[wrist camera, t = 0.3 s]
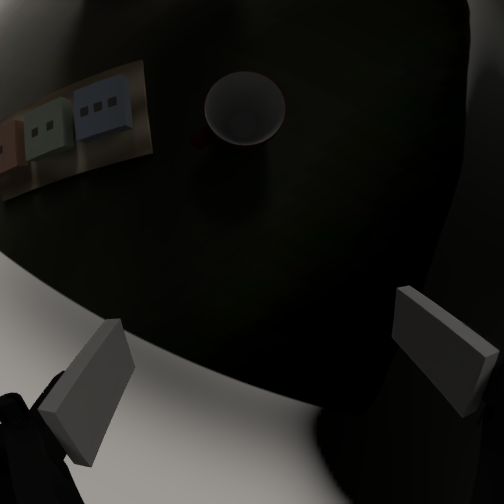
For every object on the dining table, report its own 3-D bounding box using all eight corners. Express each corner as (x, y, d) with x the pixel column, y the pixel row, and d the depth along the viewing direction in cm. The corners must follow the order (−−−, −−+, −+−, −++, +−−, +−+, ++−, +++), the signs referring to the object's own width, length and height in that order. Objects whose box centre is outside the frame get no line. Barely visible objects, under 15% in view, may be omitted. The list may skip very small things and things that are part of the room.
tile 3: (82, 95, 31) (73, 91, 28) (128, 80, 31) (121, 73, 28) (86, 142, 33) (76, 140, 30) (133, 128, 33) (125, 125, 30)
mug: (219, 179, 37) (214, 178, 28) (183, 131, 36) (166, 115, 26) (286, 132, 36) (302, 117, 27) (249, 85, 35) (254, 56, 25)
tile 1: (-4, 137, 31) (-14, 136, 28) (25, 121, 31) (14, 119, 28) (-1, 178, 32) (-12, 179, 30) (27, 165, 32) (16, 165, 30)
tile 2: (34, 117, 31) (23, 114, 28) (71, 100, 31) (61, 96, 28) (37, 161, 32) (25, 161, 30) (74, 147, 33) (63, 145, 30)
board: (0, 122, 32) (-9, 121, 30) (143, 61, 33) (137, 54, 30) (6, 200, 36) (-4, 202, 33) (153, 153, 36) (147, 152, 34)
